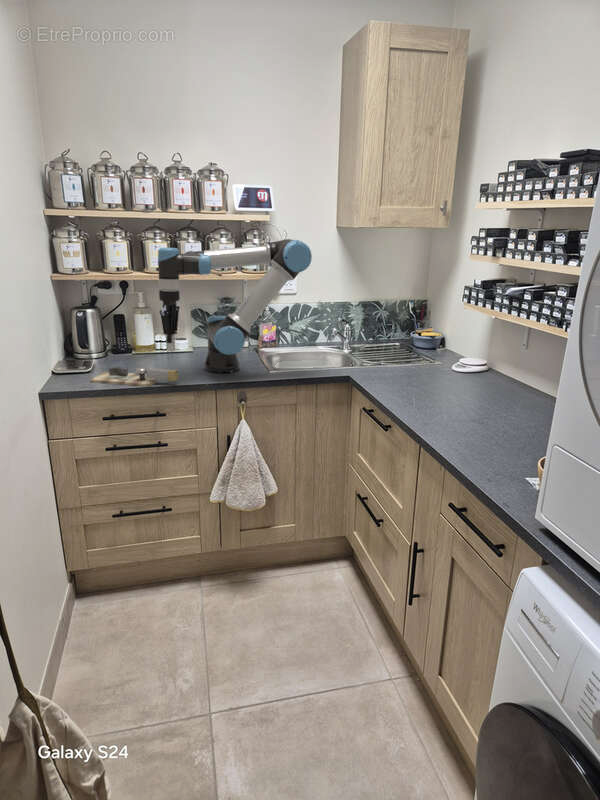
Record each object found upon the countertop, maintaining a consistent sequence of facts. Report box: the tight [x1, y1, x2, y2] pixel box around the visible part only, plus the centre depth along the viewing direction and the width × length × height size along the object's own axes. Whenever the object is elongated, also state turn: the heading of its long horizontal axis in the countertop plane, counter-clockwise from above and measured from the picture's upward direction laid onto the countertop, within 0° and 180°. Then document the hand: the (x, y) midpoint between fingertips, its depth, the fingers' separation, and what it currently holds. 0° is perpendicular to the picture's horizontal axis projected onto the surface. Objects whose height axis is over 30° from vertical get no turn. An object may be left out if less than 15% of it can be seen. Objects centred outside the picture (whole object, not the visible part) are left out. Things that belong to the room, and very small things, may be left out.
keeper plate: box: [89, 366, 139, 386], centre depth 214 cm, size 14×12×4 cm
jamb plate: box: [124, 373, 159, 388], centre depth 212 cm, size 10×10×4 cm
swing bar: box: [135, 366, 179, 382], centre depth 211 cm, size 16×4×4 cm, turn 82°
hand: (171, 350), depth 213 cm, fingers closed
